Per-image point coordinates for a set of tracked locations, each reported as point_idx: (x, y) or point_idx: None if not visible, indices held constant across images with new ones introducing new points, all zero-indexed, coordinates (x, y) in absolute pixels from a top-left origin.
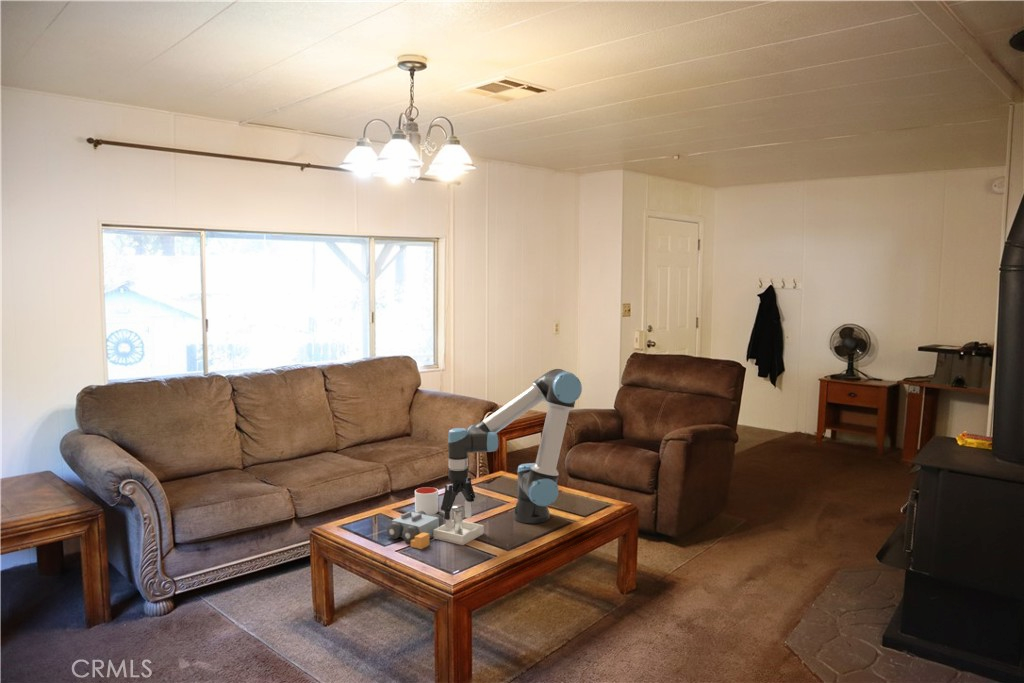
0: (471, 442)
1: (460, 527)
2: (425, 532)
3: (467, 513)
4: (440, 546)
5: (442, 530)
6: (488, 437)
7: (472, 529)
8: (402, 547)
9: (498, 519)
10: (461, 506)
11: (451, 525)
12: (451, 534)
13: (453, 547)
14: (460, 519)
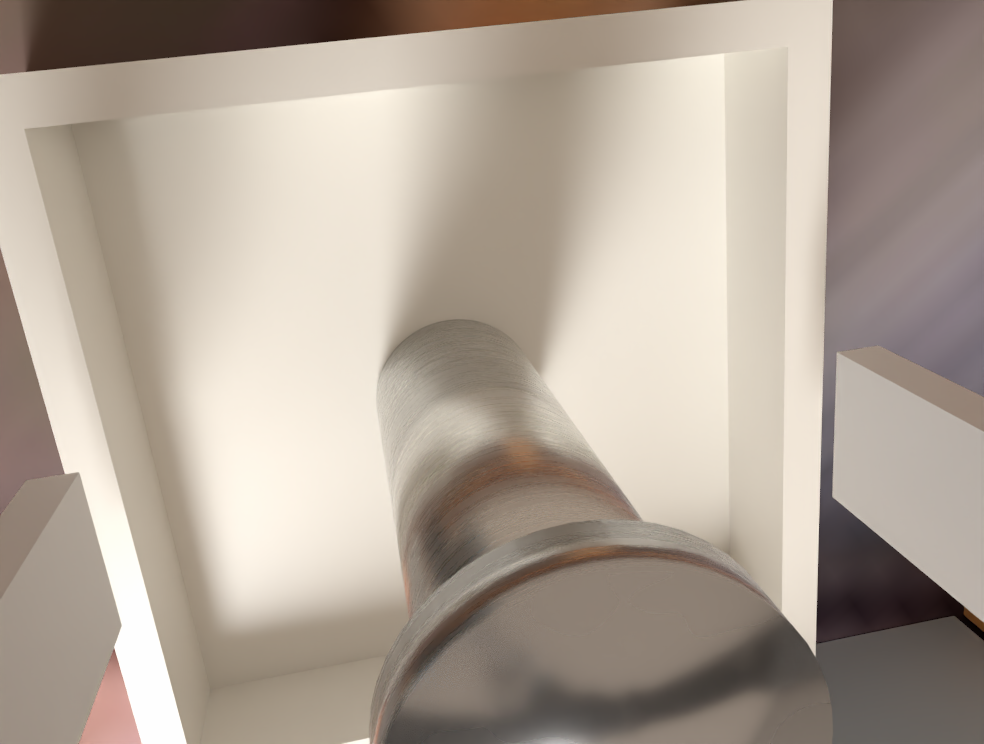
0: None
1: (507, 367)
2: (893, 705)
3: (72, 619)
4: (959, 279)
5: None
6: None
7: (119, 336)
8: None
9: None
10: (537, 693)
11: (898, 364)
12: (817, 293)
13: (903, 75)
14: (546, 437)
